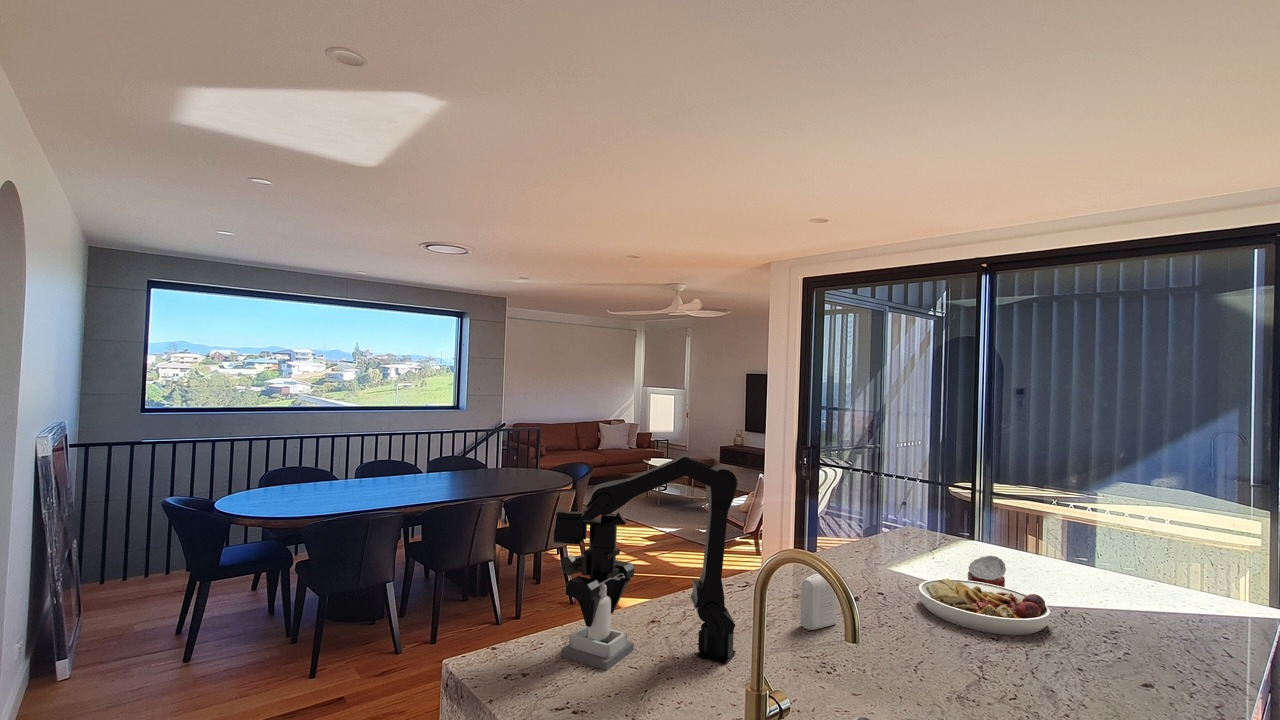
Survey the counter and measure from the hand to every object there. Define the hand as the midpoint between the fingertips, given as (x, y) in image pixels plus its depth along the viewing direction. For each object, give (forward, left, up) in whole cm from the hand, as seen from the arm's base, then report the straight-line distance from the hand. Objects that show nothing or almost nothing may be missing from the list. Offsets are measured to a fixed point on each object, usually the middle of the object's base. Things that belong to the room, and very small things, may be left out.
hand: (599, 619), depth 127 cm
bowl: (-71, -75, -8) cm, 104 cm away
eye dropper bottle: (0, 0, -4) cm, 4 cm away
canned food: (-73, -106, -7) cm, 129 cm away
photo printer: (-36, -43, -7) cm, 57 cm away
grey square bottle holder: (0, 0, -7) cm, 7 cm away
